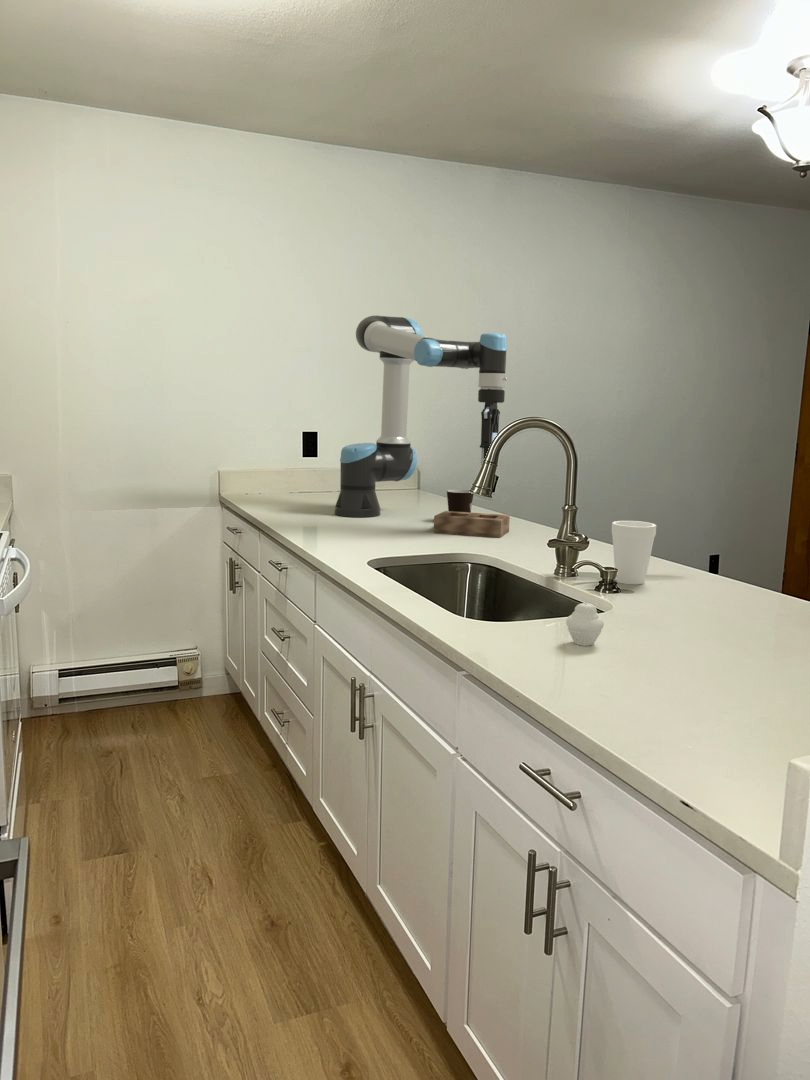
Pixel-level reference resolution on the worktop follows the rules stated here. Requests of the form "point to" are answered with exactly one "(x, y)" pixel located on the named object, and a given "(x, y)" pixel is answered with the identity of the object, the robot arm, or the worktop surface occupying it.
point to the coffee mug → (459, 500)
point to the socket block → (471, 524)
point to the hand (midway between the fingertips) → (488, 469)
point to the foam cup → (632, 549)
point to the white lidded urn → (584, 624)
